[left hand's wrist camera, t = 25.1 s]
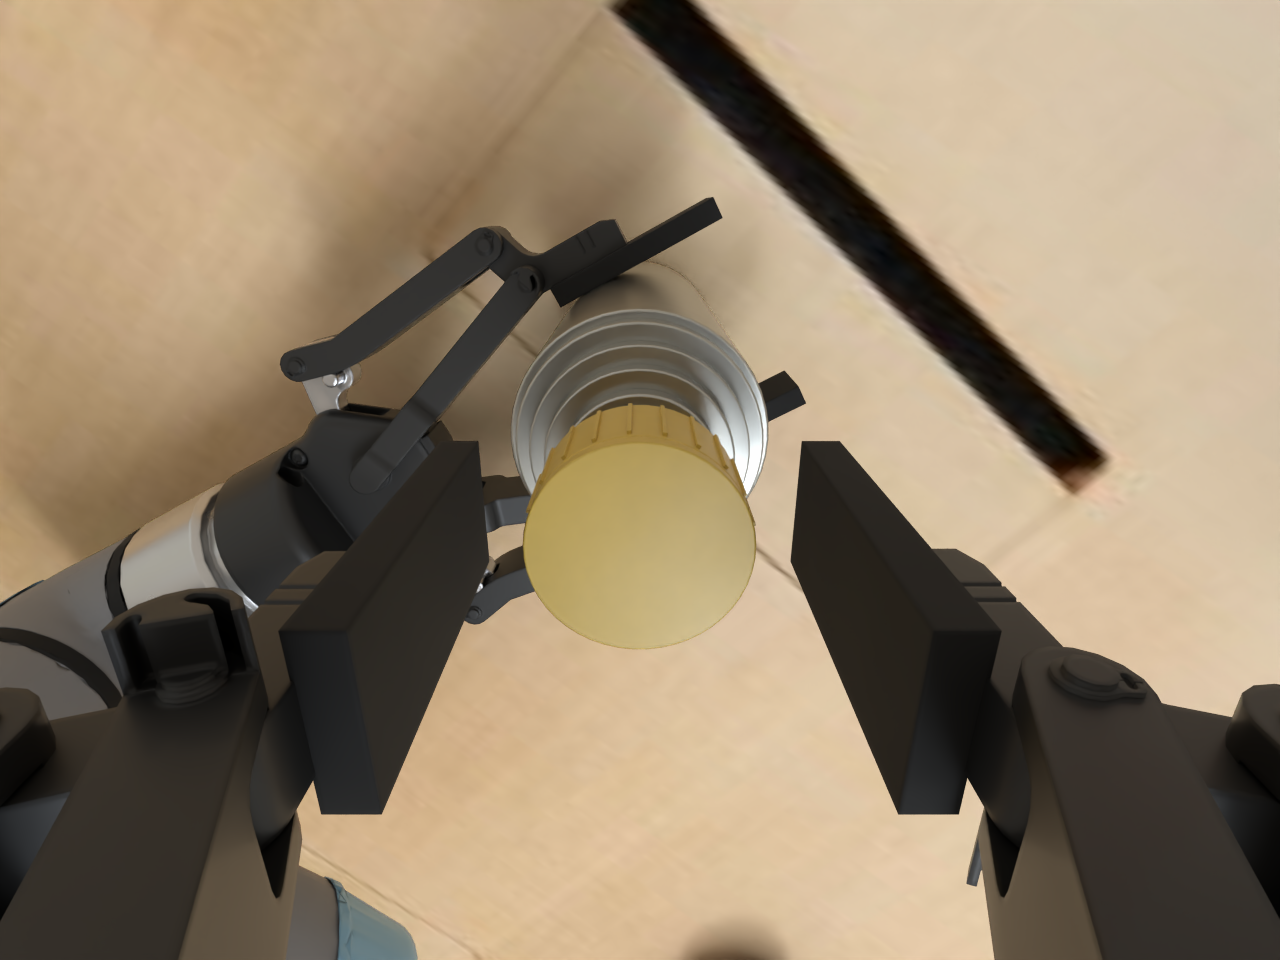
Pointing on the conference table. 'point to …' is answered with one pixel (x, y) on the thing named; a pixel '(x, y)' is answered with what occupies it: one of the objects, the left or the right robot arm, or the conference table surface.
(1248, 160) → the conference table surface
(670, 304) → the bottle
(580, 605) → the cap
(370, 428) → the right robot arm
